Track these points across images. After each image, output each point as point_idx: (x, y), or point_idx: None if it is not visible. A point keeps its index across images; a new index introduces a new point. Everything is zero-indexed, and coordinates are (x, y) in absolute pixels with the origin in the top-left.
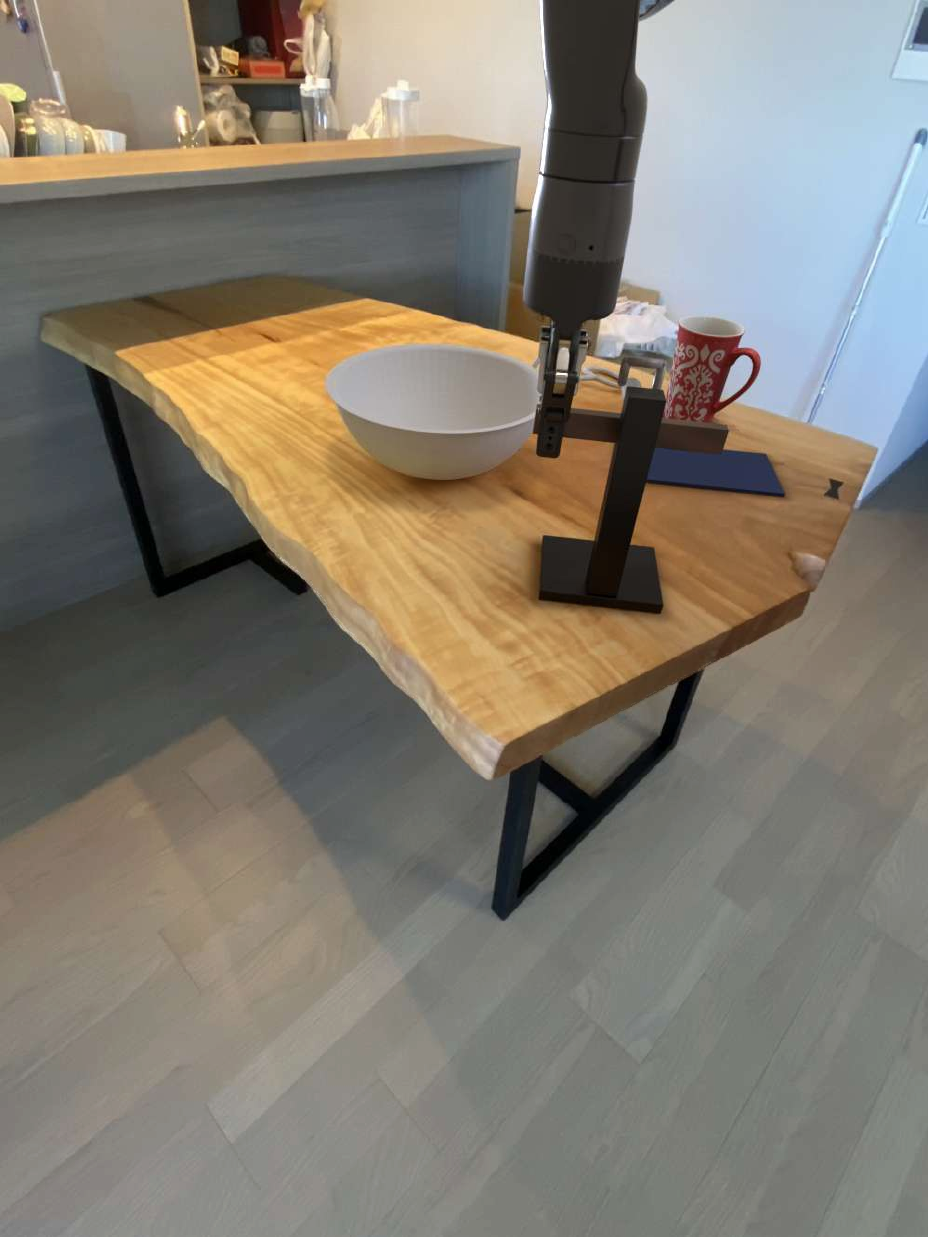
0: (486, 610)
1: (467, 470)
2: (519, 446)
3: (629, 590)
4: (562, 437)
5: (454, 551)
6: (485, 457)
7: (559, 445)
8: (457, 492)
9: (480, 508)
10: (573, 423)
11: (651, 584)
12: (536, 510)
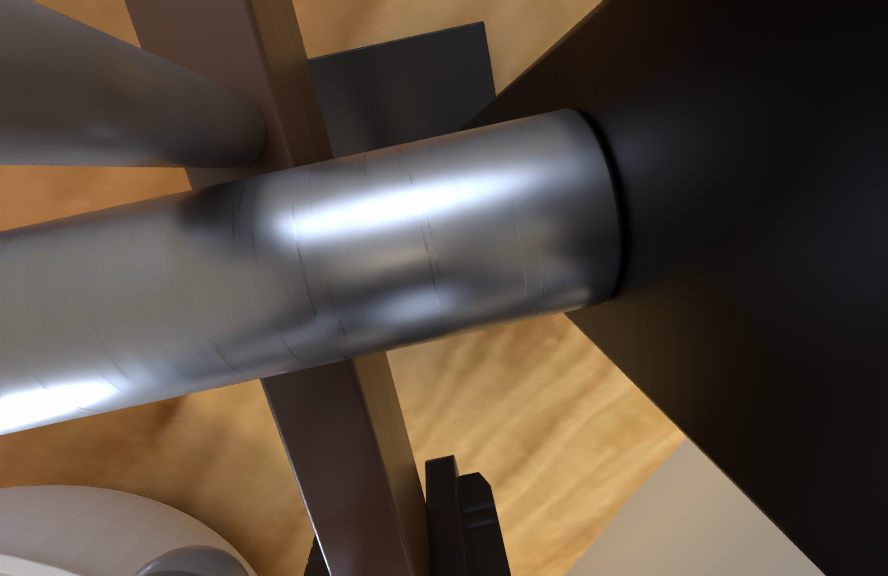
0: (577, 351)
1: (227, 546)
2: (72, 496)
3: (460, 107)
4: (458, 512)
5: (433, 450)
6: None
7: (458, 490)
8: (235, 511)
9: (269, 457)
10: (418, 533)
11: (417, 58)
12: None
